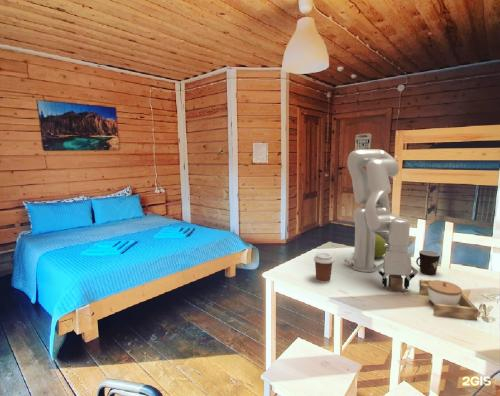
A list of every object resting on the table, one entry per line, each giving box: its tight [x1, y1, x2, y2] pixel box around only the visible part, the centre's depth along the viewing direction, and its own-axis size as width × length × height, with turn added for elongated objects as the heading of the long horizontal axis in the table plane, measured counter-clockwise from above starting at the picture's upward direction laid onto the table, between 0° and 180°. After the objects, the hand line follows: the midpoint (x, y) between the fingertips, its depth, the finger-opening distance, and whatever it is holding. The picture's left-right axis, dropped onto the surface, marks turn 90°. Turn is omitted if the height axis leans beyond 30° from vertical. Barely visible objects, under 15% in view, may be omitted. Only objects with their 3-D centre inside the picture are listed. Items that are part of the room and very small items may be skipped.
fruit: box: [374, 233, 388, 259], centre depth 163 cm, size 16×14×15 cm
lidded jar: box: [427, 279, 463, 306], centre depth 111 cm, size 11×11×9 cm
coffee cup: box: [313, 252, 335, 284], centre depth 134 cm, size 9×9×12 cm
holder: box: [418, 279, 479, 321], centre depth 115 cm, size 13×26×4 cm, turn 166°
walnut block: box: [387, 274, 404, 293], centre depth 124 cm, size 4×4×6 cm
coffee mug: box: [415, 249, 441, 276], centre depth 141 cm, size 12×9×10 cm
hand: (395, 286), depth 124 cm, fingers open, 7 cm apart
